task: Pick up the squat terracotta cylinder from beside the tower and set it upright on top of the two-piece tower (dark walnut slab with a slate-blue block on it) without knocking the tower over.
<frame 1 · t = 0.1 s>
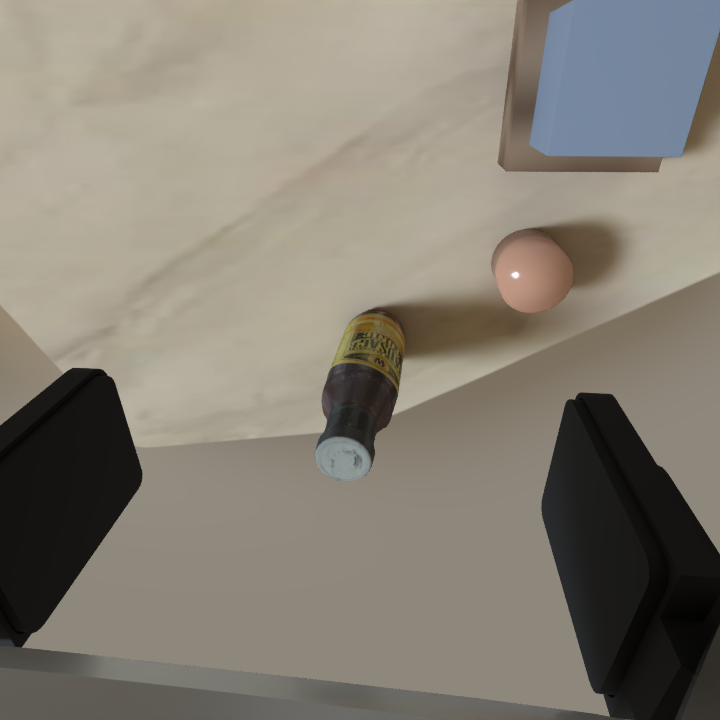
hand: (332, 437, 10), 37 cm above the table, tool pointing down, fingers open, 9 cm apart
tower middle: (598, 82, 33), point 5 cm above the table
tower base: (577, 87, 38), on the table
terracotta cylinder: (524, 261, 45), on the table
sauce bottle: (373, 332, 50), on the table
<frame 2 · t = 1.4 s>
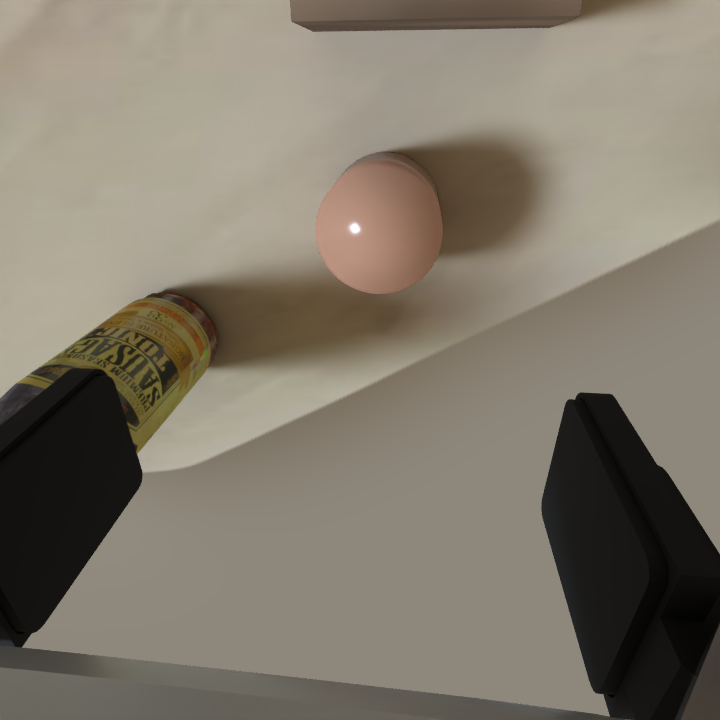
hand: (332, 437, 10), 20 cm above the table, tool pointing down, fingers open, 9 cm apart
terracotta cylinder: (384, 209, 27), on the table
sauce bottle: (175, 327, 32), on the table
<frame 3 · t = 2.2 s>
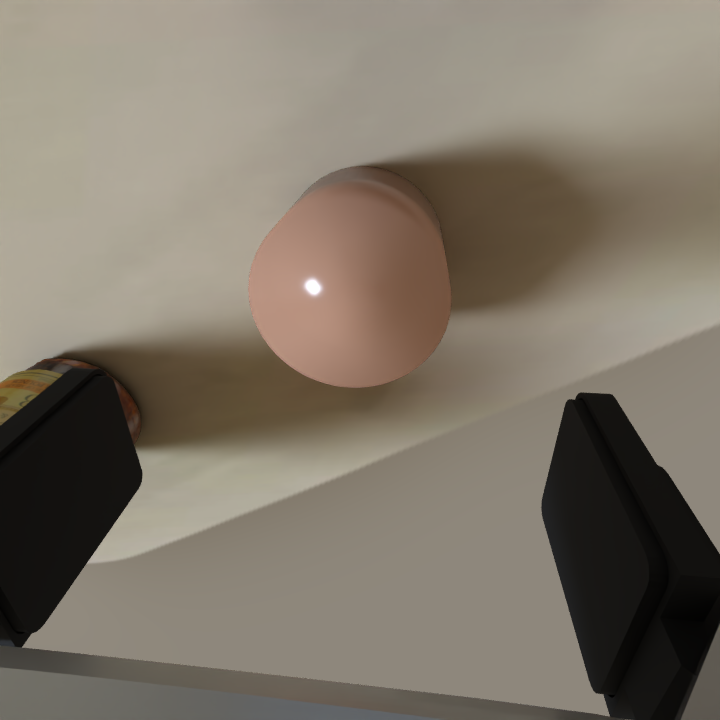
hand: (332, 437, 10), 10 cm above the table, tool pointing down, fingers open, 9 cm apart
terracotta cylinder: (363, 249, 18), on the table
sauce bottle: (85, 399, 24), on the table
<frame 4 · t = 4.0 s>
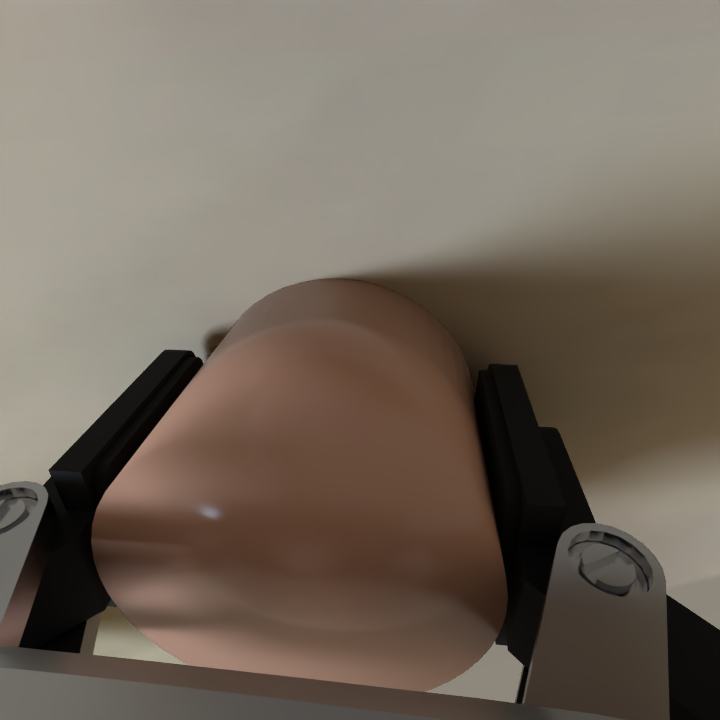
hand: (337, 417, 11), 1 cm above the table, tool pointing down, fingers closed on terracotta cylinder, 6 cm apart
terracotta cylinder: (341, 400, 11), on the table, touching gripper
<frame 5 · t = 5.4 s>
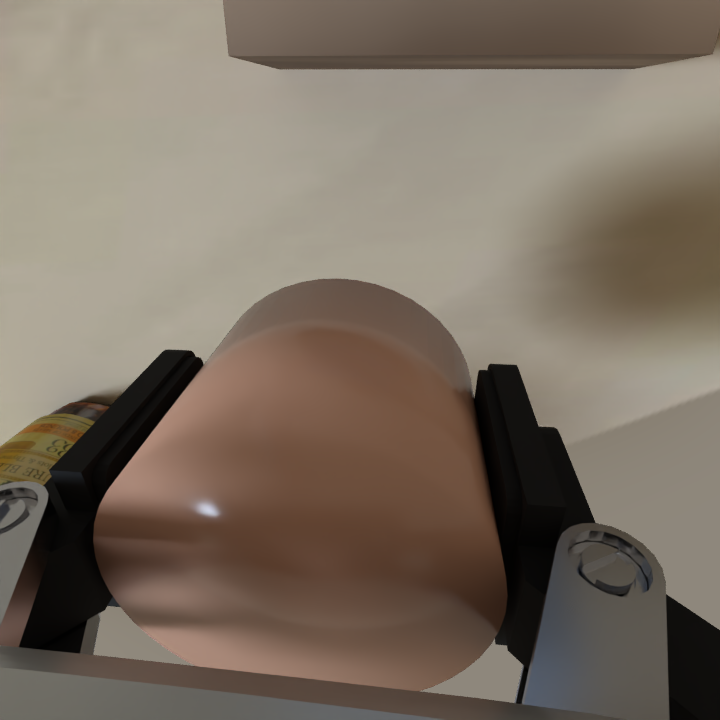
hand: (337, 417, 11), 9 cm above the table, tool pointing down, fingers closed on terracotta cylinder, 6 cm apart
terracotta cylinder: (342, 399, 11), point 8 cm above the table, touching gripper
sauce bottle: (106, 441, 24), on the table
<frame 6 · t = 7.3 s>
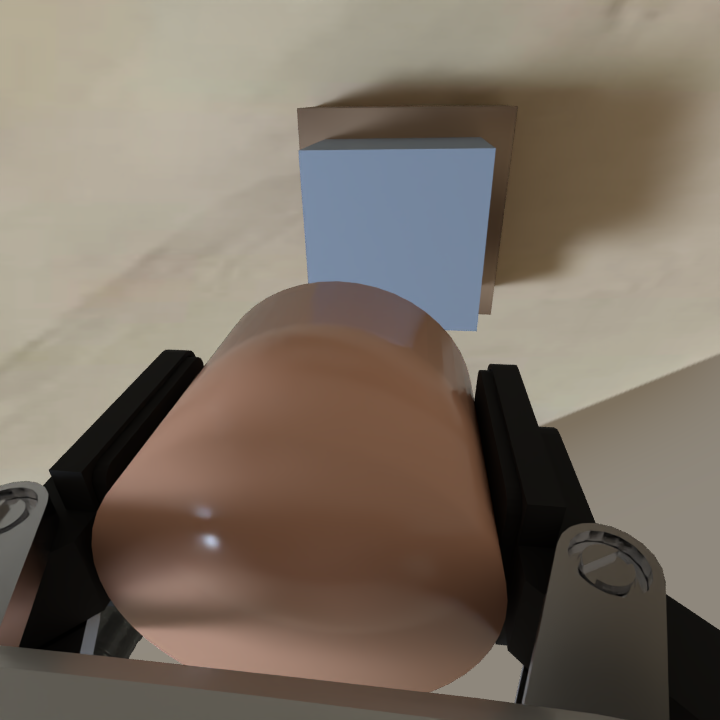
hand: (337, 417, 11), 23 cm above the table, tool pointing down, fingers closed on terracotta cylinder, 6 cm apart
tower middle: (399, 217, 27), point 5 cm above the table, touching tower base
tower base: (404, 202, 31), on the table, touching tower middle
terracotta cylinder: (341, 402, 11), point 22 cm above the table, touching gripper
sauce bottle: (219, 453, 43), on the table
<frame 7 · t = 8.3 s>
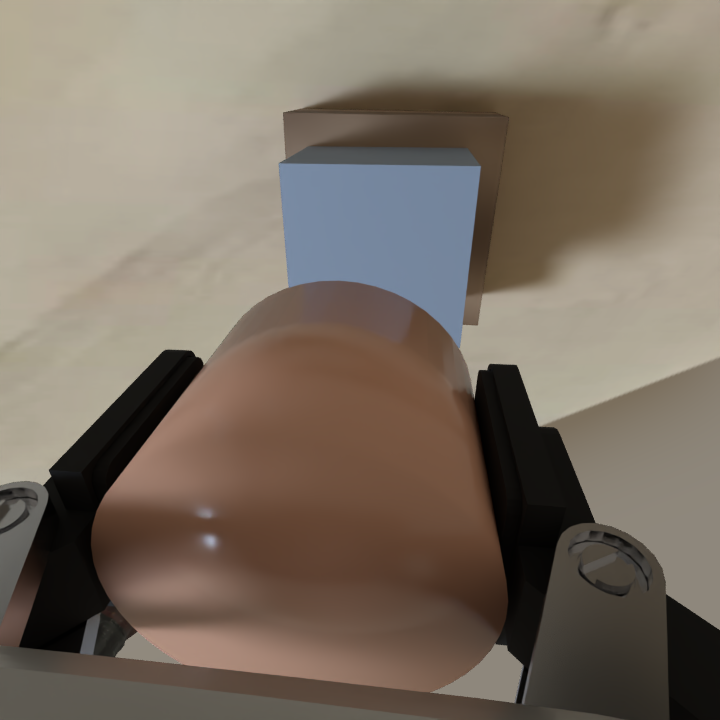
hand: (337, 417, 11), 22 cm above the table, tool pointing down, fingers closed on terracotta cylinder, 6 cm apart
tower middle: (384, 227, 26), point 5 cm above the table, touching tower base
tower base: (393, 207, 30), on the table, touching tower middle
terracotta cylinder: (341, 402, 11), point 22 cm above the table, touching gripper
sauce bottle: (203, 455, 43), on the table
when the fingers open (12 cm above the table, at t = 11.2 s): terracotta cylinder drops 1 cm, point 11 cm above the table.
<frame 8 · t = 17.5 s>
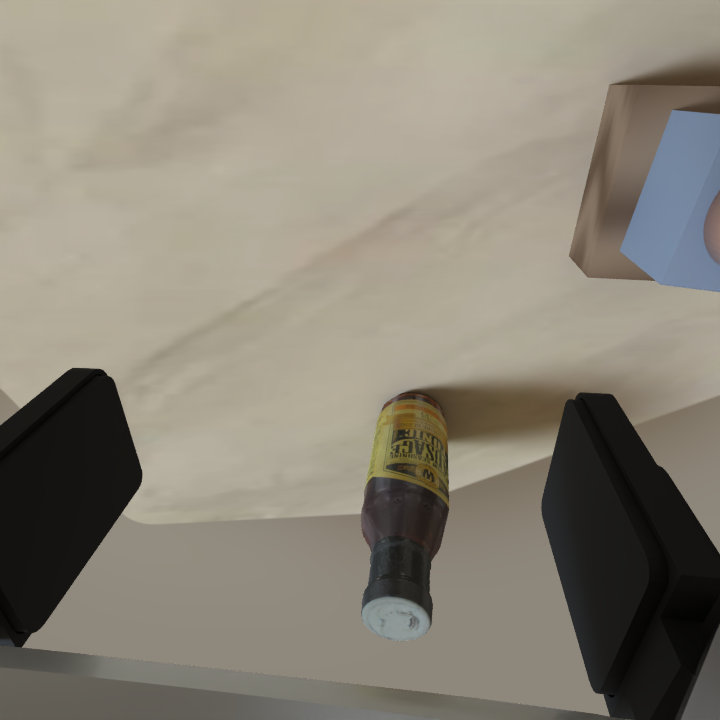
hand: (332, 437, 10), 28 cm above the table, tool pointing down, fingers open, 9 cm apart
tower middle: (712, 193, 28), point 5 cm above the table
tower base: (669, 179, 33), on the table
sauce bottle: (410, 414, 44), on the table
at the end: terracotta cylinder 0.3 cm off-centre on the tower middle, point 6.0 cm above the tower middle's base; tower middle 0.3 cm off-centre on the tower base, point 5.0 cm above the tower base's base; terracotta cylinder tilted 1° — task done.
